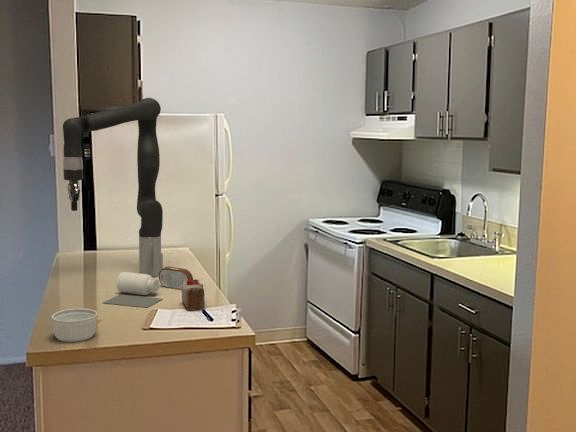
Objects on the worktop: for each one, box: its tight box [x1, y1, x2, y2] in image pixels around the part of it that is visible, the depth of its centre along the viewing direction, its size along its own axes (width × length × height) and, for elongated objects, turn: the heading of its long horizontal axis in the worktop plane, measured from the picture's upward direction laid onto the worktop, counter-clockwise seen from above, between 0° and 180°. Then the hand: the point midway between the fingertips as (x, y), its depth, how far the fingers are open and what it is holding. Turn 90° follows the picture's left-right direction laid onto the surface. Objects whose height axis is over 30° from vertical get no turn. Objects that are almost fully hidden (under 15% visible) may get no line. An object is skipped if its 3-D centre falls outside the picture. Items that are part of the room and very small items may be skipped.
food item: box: [181, 278, 206, 312], centre depth 227 cm, size 14×8×10 cm, turn 18°
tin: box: [158, 266, 194, 291], centre depth 251 cm, size 15×3×8 cm, turn 65°
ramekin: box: [51, 307, 98, 343], centre depth 192 cm, size 13×13×7 cm
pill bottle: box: [116, 271, 160, 296], centre depth 242 cm, size 8×8×15 cm
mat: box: [102, 294, 163, 309], centre depth 232 cm, size 18×12×1 cm, turn 75°
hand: (74, 210), depth 259 cm, fingers closed
